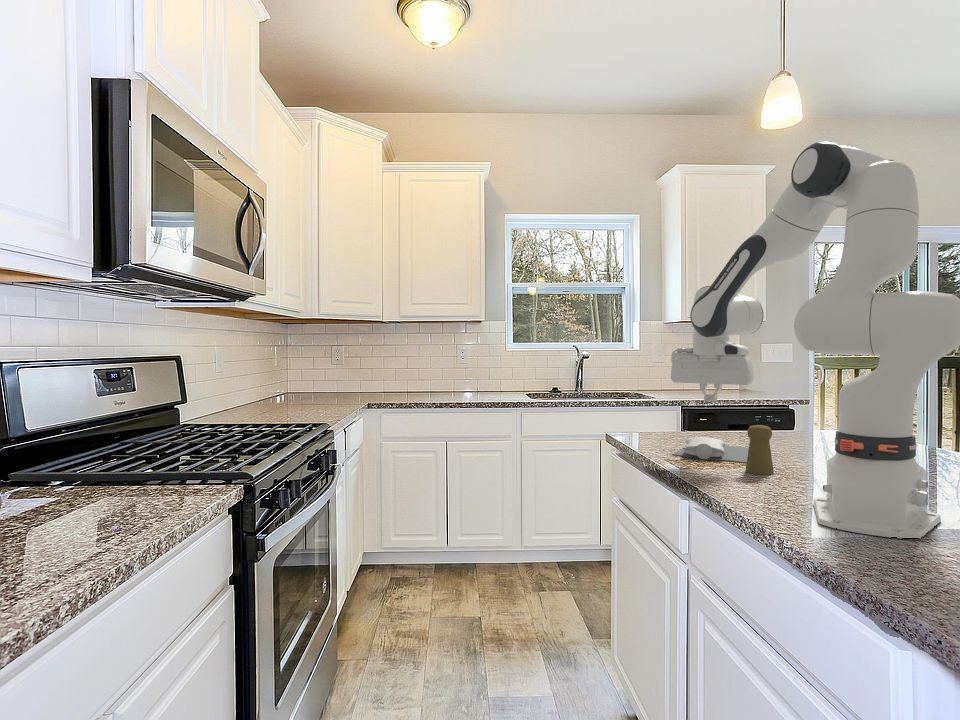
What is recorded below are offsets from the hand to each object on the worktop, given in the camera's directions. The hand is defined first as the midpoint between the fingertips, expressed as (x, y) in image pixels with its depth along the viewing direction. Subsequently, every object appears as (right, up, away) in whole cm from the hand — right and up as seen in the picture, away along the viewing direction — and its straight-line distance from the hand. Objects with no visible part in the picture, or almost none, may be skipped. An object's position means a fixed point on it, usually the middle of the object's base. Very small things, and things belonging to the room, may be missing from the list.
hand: (710, 401), depth 156 cm
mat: (+6, -15, +8) cm, 18 cm away
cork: (+5, -16, -16) cm, 23 cm away
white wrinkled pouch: (-2, -13, -1) cm, 13 cm away
